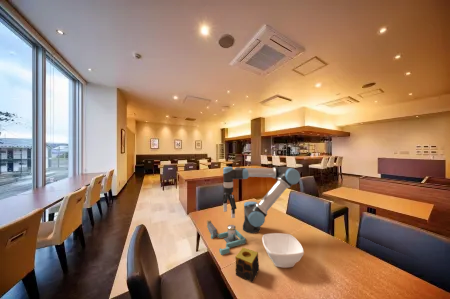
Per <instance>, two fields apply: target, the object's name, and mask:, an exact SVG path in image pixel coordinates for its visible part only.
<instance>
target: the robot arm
mask: <svg viewBox="0 0 450 299" xmlns="http://www.w3.org/2000/svg"><path fill="white" fill-rule="evenodd" d="M222 175H223V177H222V178H223V184H222V185H223V194H222V199H221V202H222V204H223V212H224V213H225V212H228V202H229V205H230V213H231V214H230V215H231V217H230V218H231V219H234V218H236V210H237V204H236V201H235V200H236V199H235V195H234V194H233V193H234V180H247V179H248V178H250V177H251V178H255V177H257V178H272V179H277V181H276V182H275V183H274V184H273V186H272V187H271V188H270V189H269V190H268V191H267V193H266V194H265V195H264V196H263V197H262V199H261V200H260V201H259V202H256V201H251V200H250V201H245V202H244V203H243V214H244V216H243V217H244V220H243V224H242V230H243V231H244V232H245V233H248V234H257V233H259V232H260V231H261V227H262V226H263V225H264V224H265V222H266V217H267V215H268V211H269V210H270V209H271V207H272V206H273V205H274V203H276V202H277V200H278V199H279V198H280V197H281V196H282V194H283V193H284V192H285V191H286V190H287V188H289V189H290V188H291V187H292V186H293V185H296V184H298V183H299V182H300V180H301V174H300V172H299V171H298V170H297V169H295V168H294V167H288V166H279V167H277V166H273V167H272V168H271V167H270V168H269V167H266V168H265V167H239V166H237V167H235V168H233V167H232V166H226V167H223V172H222Z"/></svg>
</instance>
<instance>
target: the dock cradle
mask: <svg viewBox="0 0 450 299" xmlns="http://www.w3.org/2000/svg"><path fill="white" fill-rule="evenodd" d="M235 230H236V240H235V241H233V242H229V241H228V231H224V232H221V233H218V232H217V237H216V238H219V239H222V238H223V240H224V241H225V248H219V254H220V255H221V256H224V255H227V254H230V252H231V251H230V248H231V249H232V248H233V247H237V246H240V245H241V246H242V245H244V244H246V243H247V238H245V236H243V234H241V232H239V230H237V229H235ZM210 239H211V240H213V239H214V238H213V235H211V234H210Z"/></svg>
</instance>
